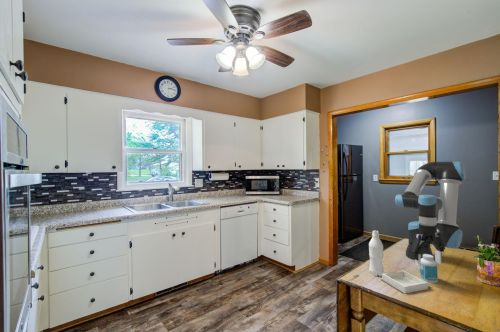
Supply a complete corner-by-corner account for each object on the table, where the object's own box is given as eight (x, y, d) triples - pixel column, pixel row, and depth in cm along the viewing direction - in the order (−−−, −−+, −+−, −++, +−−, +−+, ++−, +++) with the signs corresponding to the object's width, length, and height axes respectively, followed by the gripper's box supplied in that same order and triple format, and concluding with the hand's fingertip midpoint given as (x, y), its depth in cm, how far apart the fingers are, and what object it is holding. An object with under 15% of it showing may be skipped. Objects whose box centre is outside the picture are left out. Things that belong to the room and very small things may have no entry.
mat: (407, 276, 129) (407, 274, 129) (432, 289, 116) (432, 287, 116) (380, 281, 125) (380, 279, 125) (403, 295, 111) (403, 293, 111)
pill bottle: (440, 282, 122) (440, 256, 122) (433, 286, 119) (432, 259, 119) (424, 276, 129) (424, 251, 129) (417, 279, 125) (416, 254, 125)
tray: (403, 275, 128) (403, 270, 128) (428, 288, 115) (427, 282, 115) (381, 279, 125) (381, 273, 125) (404, 293, 112) (404, 287, 112)
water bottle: (366, 272, 135) (365, 229, 134) (378, 271, 135) (377, 228, 135) (374, 278, 128) (373, 233, 127) (386, 277, 128) (385, 232, 128)
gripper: (438, 221, 130) (439, 259, 130) (401, 224, 124) (402, 264, 124) (453, 224, 122) (454, 264, 123) (414, 228, 117) (415, 270, 117)
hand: (428, 264), depth 123 cm, fingers open, 13 cm apart
